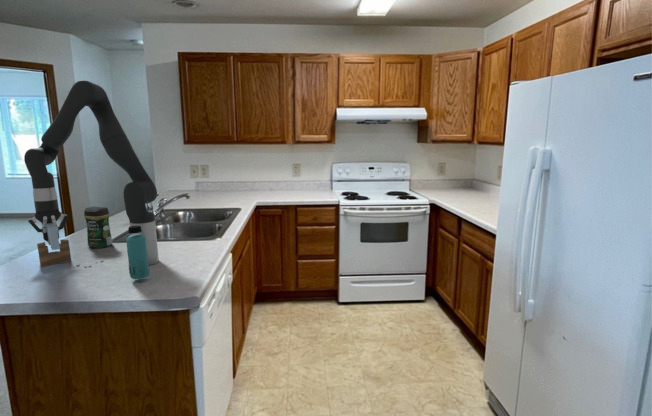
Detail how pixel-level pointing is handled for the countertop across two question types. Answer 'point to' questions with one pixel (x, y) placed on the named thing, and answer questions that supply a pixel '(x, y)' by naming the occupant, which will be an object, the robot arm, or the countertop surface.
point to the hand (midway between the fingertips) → (51, 240)
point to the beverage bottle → (137, 254)
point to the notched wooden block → (54, 253)
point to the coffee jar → (98, 227)
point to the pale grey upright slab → (53, 236)
